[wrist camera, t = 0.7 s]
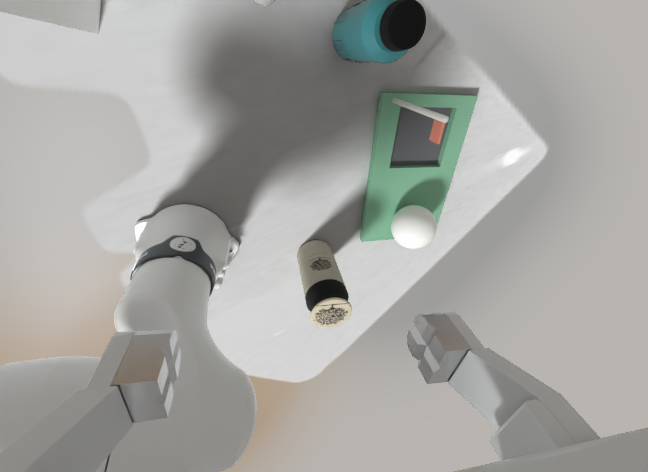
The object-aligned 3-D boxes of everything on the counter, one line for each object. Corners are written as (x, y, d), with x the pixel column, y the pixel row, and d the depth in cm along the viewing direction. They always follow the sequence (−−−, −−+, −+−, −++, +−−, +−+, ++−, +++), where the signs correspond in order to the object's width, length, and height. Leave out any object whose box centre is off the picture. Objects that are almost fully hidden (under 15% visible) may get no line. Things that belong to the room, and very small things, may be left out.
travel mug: (326, 268, 67) (346, 329, 52) (294, 266, 65) (305, 329, 50) (334, 240, 63) (358, 298, 48) (300, 237, 61) (314, 297, 46)
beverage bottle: (332, 65, 44) (377, 75, 28) (324, 12, 40) (371, -12, 24) (372, 55, 44) (439, 59, 28) (367, 2, 41) (443, -29, 24)
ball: (409, 237, 65) (428, 261, 58) (377, 228, 62) (393, 252, 54) (430, 204, 61) (454, 225, 54) (397, 192, 58) (418, 213, 50)
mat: (430, 232, 68) (477, 281, 53) (359, 237, 64) (389, 291, 50) (472, 94, 51) (556, 112, 37) (380, 92, 48) (433, 110, 33)
